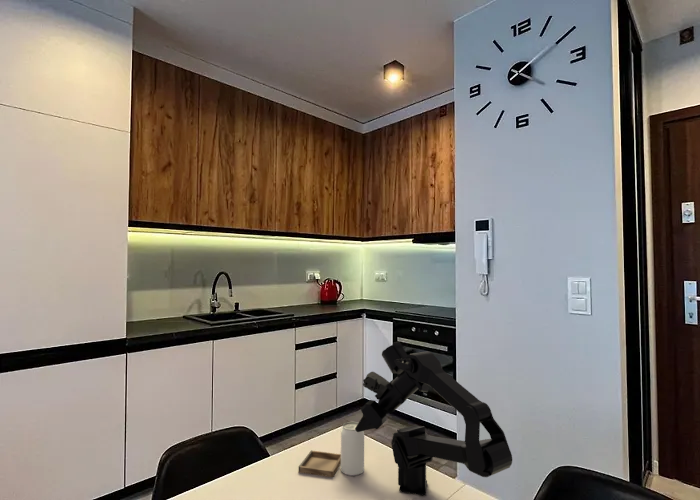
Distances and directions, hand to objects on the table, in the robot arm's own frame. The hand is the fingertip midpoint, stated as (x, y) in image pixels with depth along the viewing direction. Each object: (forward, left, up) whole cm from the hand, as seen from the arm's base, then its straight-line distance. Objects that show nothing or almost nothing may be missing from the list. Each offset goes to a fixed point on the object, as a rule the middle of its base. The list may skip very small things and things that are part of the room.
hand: (363, 424), depth 104 cm
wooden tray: (+12, -1, -13) cm, 18 cm away
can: (+3, -1, -13) cm, 14 cm away
